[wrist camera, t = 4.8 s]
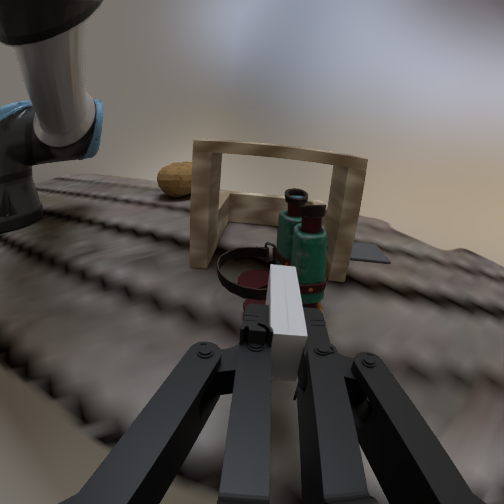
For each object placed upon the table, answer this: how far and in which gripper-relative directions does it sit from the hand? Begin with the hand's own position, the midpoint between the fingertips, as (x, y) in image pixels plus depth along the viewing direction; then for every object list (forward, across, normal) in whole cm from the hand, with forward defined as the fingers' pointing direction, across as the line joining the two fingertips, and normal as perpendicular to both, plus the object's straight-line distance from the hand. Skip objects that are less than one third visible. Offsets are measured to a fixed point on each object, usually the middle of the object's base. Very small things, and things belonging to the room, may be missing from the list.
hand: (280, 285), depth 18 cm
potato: (+50, -21, -7) cm, 55 cm away
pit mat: (+25, +14, -6) cm, 29 cm away
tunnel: (+25, 0, -6) cm, 25 cm away
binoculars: (+8, 0, -7) cm, 11 cm away
